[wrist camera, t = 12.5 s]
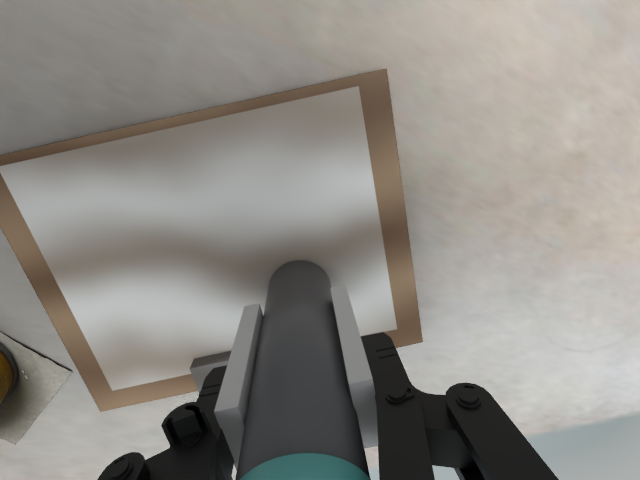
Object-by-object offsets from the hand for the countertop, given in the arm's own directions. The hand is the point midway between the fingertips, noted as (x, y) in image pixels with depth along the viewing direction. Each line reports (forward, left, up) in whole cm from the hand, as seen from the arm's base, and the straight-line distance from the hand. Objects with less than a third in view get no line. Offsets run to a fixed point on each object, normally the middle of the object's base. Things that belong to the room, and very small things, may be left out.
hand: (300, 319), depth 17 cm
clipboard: (-2, -4, -4) cm, 6 cm away
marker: (0, 0, -3) cm, 3 cm away
